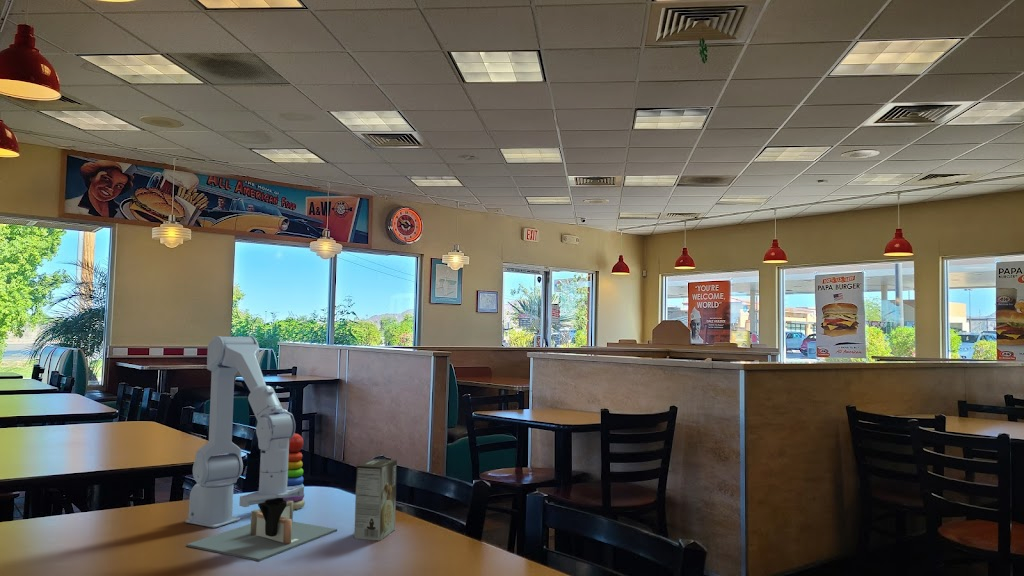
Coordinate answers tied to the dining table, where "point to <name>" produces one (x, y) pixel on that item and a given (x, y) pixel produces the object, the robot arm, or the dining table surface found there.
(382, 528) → the coffee box
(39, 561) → the dining table surface
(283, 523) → the hinged fence panel
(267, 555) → the mat
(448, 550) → the dining table surface
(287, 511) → the fence fixed
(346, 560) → the dining table surface
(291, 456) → the stacking toy
